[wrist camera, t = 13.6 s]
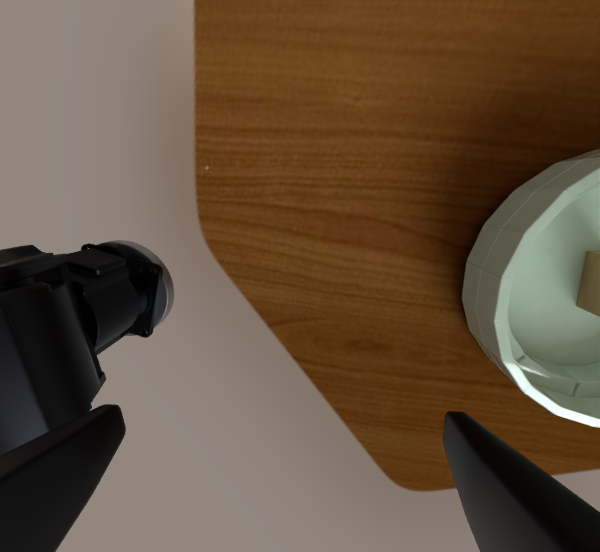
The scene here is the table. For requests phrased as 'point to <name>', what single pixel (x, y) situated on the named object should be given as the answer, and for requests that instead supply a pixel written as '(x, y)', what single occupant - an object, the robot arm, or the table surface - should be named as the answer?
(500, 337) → the bowl
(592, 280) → the wooden muddler
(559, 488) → the robot arm
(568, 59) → the table surface
